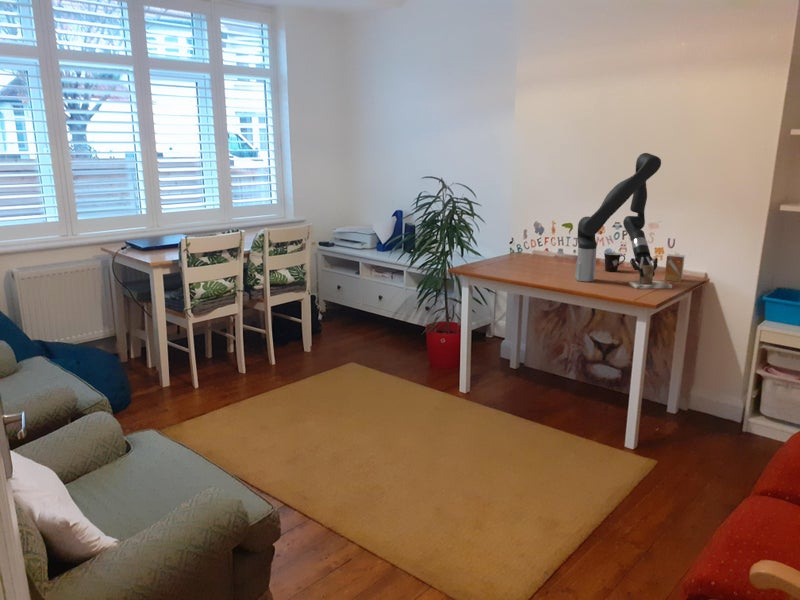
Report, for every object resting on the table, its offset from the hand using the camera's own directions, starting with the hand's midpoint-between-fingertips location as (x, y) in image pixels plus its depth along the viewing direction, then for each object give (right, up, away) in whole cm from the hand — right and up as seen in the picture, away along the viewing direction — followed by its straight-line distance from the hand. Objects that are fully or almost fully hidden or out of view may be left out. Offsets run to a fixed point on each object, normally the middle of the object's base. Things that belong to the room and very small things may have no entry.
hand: (647, 276), depth 310 cm
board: (+2, -5, +3) cm, 6 cm away
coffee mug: (-3, +4, +40) cm, 40 cm away
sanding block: (0, -3, +3) cm, 4 cm away
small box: (+20, -1, +17) cm, 26 cm away
